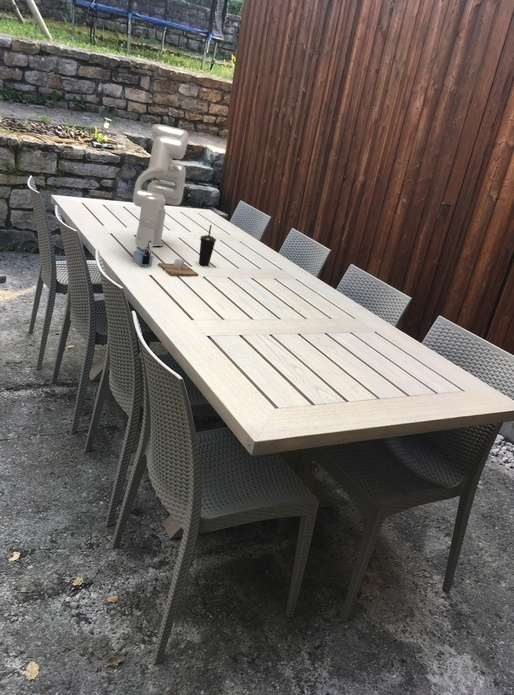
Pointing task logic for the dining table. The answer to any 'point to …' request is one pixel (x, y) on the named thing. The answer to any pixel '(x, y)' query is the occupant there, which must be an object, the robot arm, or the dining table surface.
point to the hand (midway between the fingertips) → (142, 261)
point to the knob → (141, 257)
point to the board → (174, 272)
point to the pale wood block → (178, 264)
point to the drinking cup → (206, 249)
